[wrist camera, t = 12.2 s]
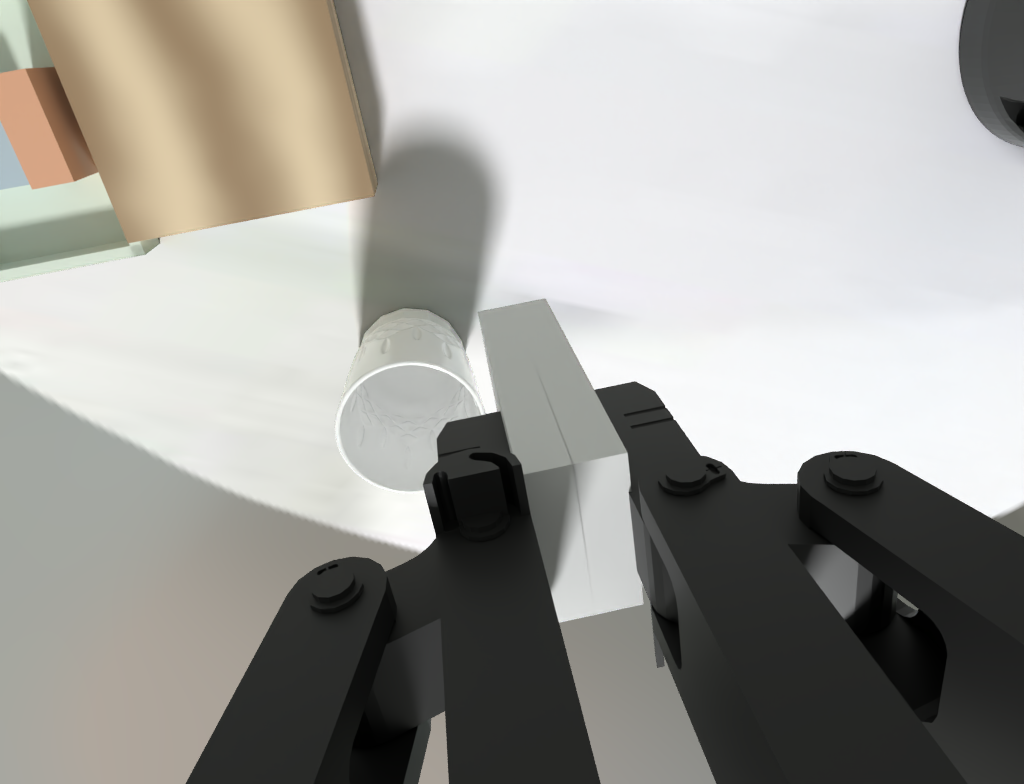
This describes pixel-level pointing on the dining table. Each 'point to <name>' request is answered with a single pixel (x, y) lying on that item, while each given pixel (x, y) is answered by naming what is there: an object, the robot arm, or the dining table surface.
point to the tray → (52, 189)
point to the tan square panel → (210, 107)
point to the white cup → (403, 398)
